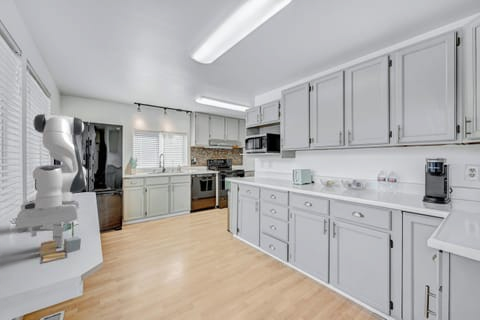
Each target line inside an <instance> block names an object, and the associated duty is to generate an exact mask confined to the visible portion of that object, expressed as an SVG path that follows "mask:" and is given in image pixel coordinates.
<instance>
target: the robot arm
mask: <svg viewBox="0 0 480 320" xmlns="http://www.w3.org/2000/svg"><path fill="white" fill-rule="evenodd" d="M32 125H33V128H34V130H35V131H36V132H38V133H40V134H42V145H43V146H44V148H45V149H46V150H47V151H49V153H48V154H49V157H51V158H52V159H54V160H56V161H59V162H61V164H46V165H40V166H36V167H35V168H34V169H33V171H32V178H33V179H34V190H36V195H35V199H34V200H31V201H26V202H24V203H22V204H21V205H20V210H19V212H18V213H17V217H16V219H15V227H16V228H17V229H22V228H27V230H28V231H29V232H30V234H31V238H33V237H37V231H34V229H33V228H34V227H36V226H37V227H38V226H41V227H39V230H41V231H42V230H43V231H44V230H46V231H48V230H50V231H53V223H59V222H64V224H65V225H64V227H61V232H65V227H66V226H67V225H68V221H73V220H74V226H76V225H80V221H78V220H77V219H78V218H79V214H78V209H79V208H80V207H79V205H80V204H79V202H78V201H76V200H73V193H74V194H75V193H76V194H77V193H80V192H82V191H83V190H85V189H86V187H87V178H86V176H87V170H86V168H85V166H83V163H82V159H81V155H80V151H79V148H78V146H77V145H75V144H74V143H73V142H74V141H73V140H74V139H73V136H74V137H76V136H80V135H81V134H83V131H85V124H84V122H83V119H81V118H78V117H71V116H67V115H61V114H60V115H58V114H57V115H55V114H44V113H42V114H37V115H36V116H35V117H34V118H33V121H32Z"/></svg>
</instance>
